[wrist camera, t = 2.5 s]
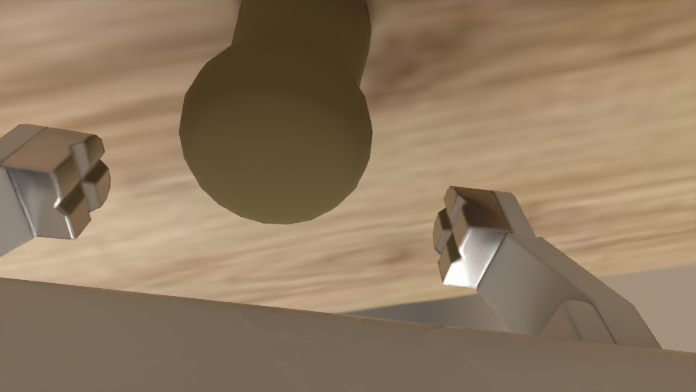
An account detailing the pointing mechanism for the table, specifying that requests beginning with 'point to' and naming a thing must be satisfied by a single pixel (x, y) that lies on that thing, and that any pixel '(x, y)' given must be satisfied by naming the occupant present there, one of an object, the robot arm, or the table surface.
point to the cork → (282, 111)
